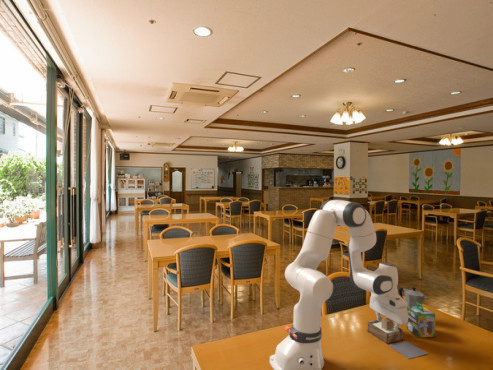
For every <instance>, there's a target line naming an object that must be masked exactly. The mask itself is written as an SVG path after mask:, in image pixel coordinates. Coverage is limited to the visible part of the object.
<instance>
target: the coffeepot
mask: <svg viewBox="0 0 493 370" xmlns="http://www.w3.org/2000/svg"><path fill="white" fill-rule="evenodd" d="M397 290H398V294H399V295H400V296H401V297H402V298H403V299H404V300H405V301H406V302H407V306H405V307H406V308H407V307H413V306H417V305H416V302H418V303H419V304H421V305H422V306H423V302H424V301H425V300H427V297H428V296H425V294H424V293H423V292H421V291H419V290H417V288H416V287H414V286H413V287H412V289H407V288H404V287H400V288H399V289H397ZM403 293H404V296H403ZM418 306H419V305H418ZM419 307H420V306H419Z"/></svg>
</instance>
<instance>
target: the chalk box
mask: <svg viewBox="0 0 493 370" xmlns="http://www.w3.org/2000/svg"><path fill="white" fill-rule="evenodd" d="M416 305H417V306H413V307H407V306H406V307H407V311H408V323H407V324H406V329H407V330H408V331H409V332H410V333H412V335H414V336H415V337H417V339H419V338H435V337H436V333H437V331H436V313H435V312H433V311H432V310H431V309H428V308H427V307H425V306H423V304H422V305H421V304H419V303H418V302H416ZM418 305H419V306H420V307H419V306H418Z"/></svg>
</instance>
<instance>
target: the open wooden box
mask: <svg viewBox="0 0 493 370" xmlns="http://www.w3.org/2000/svg"><path fill="white" fill-rule="evenodd" d="M382 319H384V318H383V317H382ZM377 322H379V321H378V320H377V319H372V320H368V321H367V332H368V333H370V334H371V335H372V336H374V337H375V338H377V339H379V340H380V341H382V342H383V343H384V344H387V345H389V344H393V343H394V342H395V343H397V342H401V341H404V329H403V328H401V327H400V326H398V329H399V330H400V332H396V333H392V334H387V333H386V332H384V331H383V330H381V329H380V328H378V327H376V326H375V325H373V324H372V323H377ZM394 325H395V323H393V326H394Z"/></svg>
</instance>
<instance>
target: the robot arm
mask: <svg viewBox="0 0 493 370" xmlns="http://www.w3.org/2000/svg"><path fill="white" fill-rule="evenodd" d="M338 226H340V227H347V228H348V233H349V241H347V242H348V243H347V253H348V262H349V280H350V283H351V285H352V286H353V287H355V288H358V289H362V290H364V291H366V292H370V298H369V308H370V309H371V310H373V311H375V312H374V313H375V315H376V320H378V321H379V322H382V318H383V317H382V316H384V317H385V318H389V319H391V320H392V321H393V324H394V326H393V330H395V331H397V330H398V327H400V326H403V325H407V323H408V311H407V308H406V307H407V302H406V300H405V298H404V297H403V298H402V297H401V296H400V295H399V291H398V290H399V289H398V284H399V275H398V274H399V272H398V268H397V266H395V265H394V264H392V263H387V262H379V264H378V267H377V269H375V270H374V271H373V270H370V269H368V268H366V267H365V266H364V265H363V259H362V252H363V253H364V252H366V251H369V250H371V249H372V248H373V247H375V245H376V243H377V233H376V230H375V225H374V222H373V220H372V217H371V216H370V213H369V211H367V209H366V208H365V207H364V206H363V205H362V204H360V203H358V202H355V201H349V200H348V201H347V200H345V199H327V200H325V201H324V202H322V204H321V206H320V207H319V209H317V210H316V211H315V212H314V213H313V214H312V217H311V219H310V221H309V224H308V227H307V230H306V233H305V237H304V240H303V244H302V247H301V249H300V251H299V253H298V255H297V256H296V258H295V260H294V261H293V262H291V263H289V264H288V265H287V267H285V270H284V277H285V281H287V283H288V284H289V285H290V286H291V287H292V288H293V289H295V290H297V291H298V292H299V294H300V295H299V301H298V302H297V303H296V304H295V305H294V307H293V314H292V315H293V317H292V318H293V322H292V325H291V327H289V326H288V325H286V326H285V327H284V330H285V332H287V333H289V334H288V335H287V336H286V337H285V338H284V339H283V340H281V341H280V343H278V344H277V345H276V348H275V350H274V351H275V353H274V354H271V355H269V365H270V366H271V368H272V370H322V369H323V367H324V366H325V360H324V357H323V350H322V341H321V340H322V336H323V335H322V332H323V331H322V326H321V324H322V323H321V319H322V317H321V316H322V308H323V306H324V303H325V302H326V301H328V300H329V299H330V298H331V296H332V295H333V292H334V291H333V290H334V284H333V282H332V280H331V279H330V278H329V277H328V276H327V275H325V274H324V272H321V271H319V270H317V269H318V267H319V265H320V264H321V262H322V261H324V260H325V261H326V260H327V259H328V257H329V256H330V251H331V247H332V244H333V240H334V236H335V232H336V228H337V227H338ZM381 315H382V316H381Z"/></svg>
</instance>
